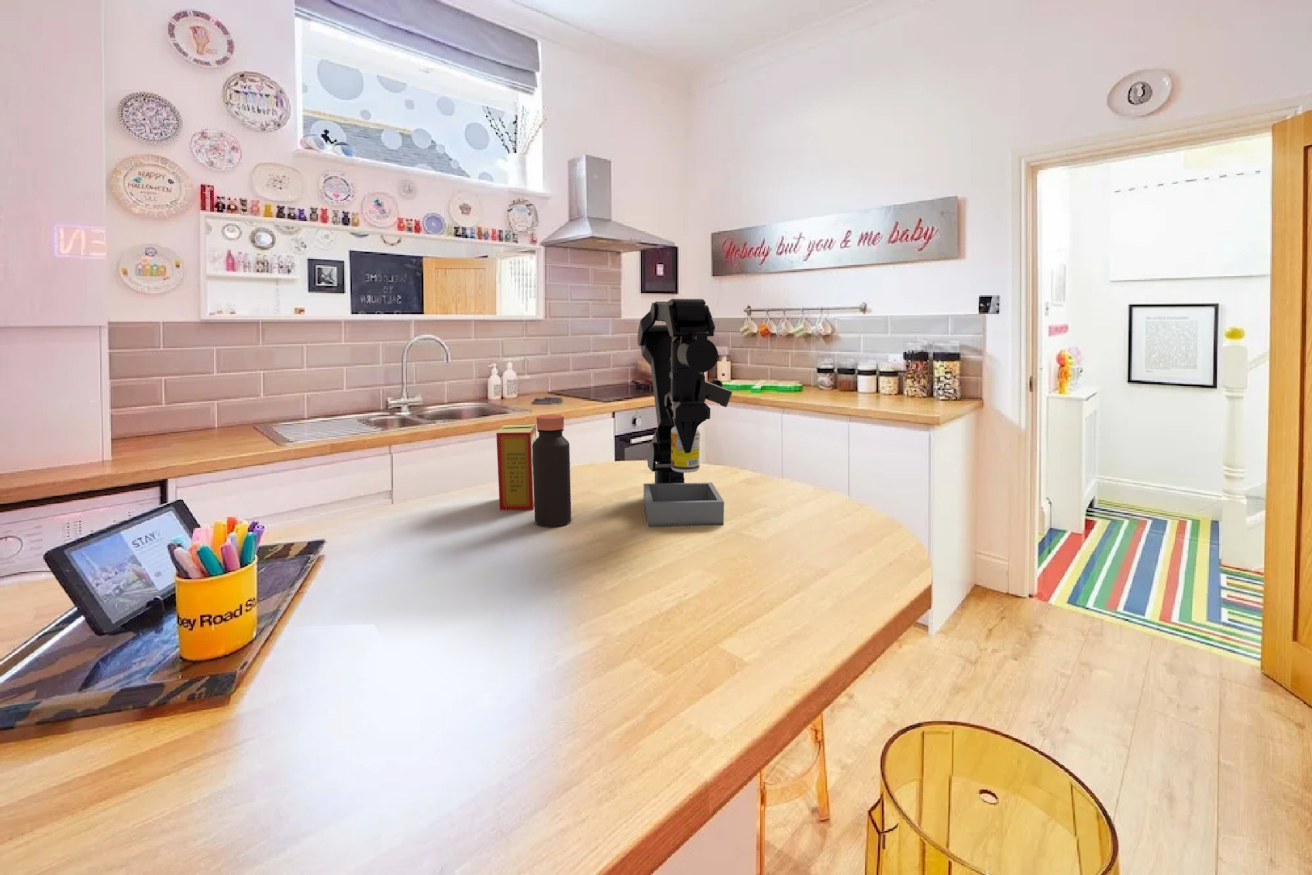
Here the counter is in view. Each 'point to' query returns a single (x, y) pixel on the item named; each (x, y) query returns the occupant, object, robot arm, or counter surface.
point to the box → (683, 504)
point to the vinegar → (551, 473)
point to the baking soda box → (516, 466)
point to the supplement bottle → (679, 457)
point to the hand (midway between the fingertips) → (685, 449)
